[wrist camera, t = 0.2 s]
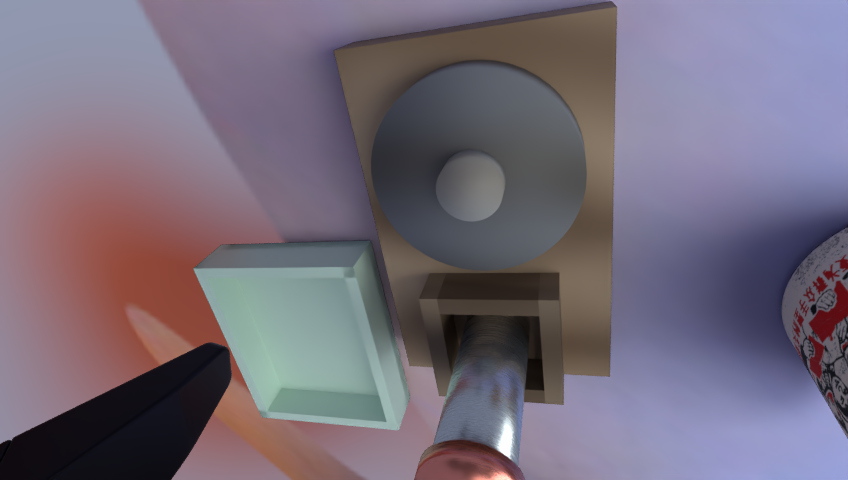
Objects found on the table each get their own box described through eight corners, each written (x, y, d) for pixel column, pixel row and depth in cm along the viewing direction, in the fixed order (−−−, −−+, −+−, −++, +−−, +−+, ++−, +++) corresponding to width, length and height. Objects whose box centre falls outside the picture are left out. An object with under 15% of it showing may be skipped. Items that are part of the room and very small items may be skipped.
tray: (410, 397, 30) (398, 430, 28) (281, 387, 33) (261, 417, 31) (371, 240, 25) (353, 267, 23) (221, 244, 27) (193, 268, 25)
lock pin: (539, 354, 23) (527, 539, 16) (465, 351, 24) (422, 523, 17) (534, 293, 22) (519, 469, 14) (456, 292, 23) (404, 456, 15)
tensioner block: (606, 347, 25) (614, 419, 21) (418, 340, 27) (396, 402, 24) (611, 1, 17) (625, 15, 13) (352, 42, 20) (304, 63, 16)
